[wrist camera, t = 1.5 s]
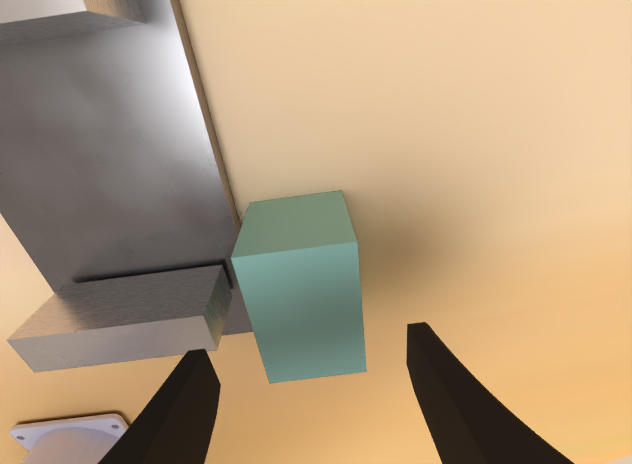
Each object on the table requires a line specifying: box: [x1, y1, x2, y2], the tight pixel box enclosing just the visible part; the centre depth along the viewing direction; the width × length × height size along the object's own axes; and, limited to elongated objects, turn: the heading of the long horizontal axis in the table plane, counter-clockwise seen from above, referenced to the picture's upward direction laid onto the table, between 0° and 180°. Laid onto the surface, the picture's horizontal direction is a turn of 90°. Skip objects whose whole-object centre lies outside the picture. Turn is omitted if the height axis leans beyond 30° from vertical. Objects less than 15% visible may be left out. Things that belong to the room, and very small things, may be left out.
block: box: [231, 190, 367, 383], centre depth 15 cm, size 7×4×5 cm, turn 7°
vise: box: [0, 0, 253, 335], centre depth 13 cm, size 18×10×4 cm, turn 7°
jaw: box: [7, 265, 232, 373], centre depth 15 cm, size 2×8×4 cm, turn 97°
